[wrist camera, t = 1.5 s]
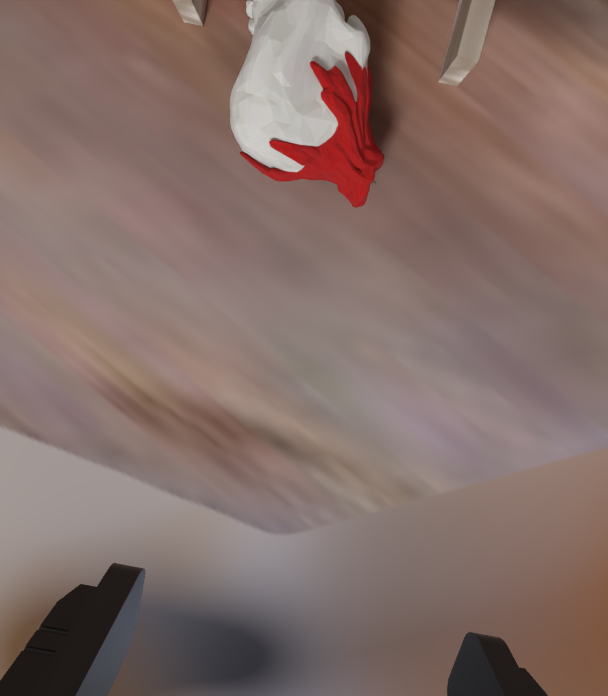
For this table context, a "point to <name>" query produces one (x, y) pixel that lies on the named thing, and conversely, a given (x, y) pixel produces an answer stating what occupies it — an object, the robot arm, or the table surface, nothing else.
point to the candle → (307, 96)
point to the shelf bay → (461, 46)
